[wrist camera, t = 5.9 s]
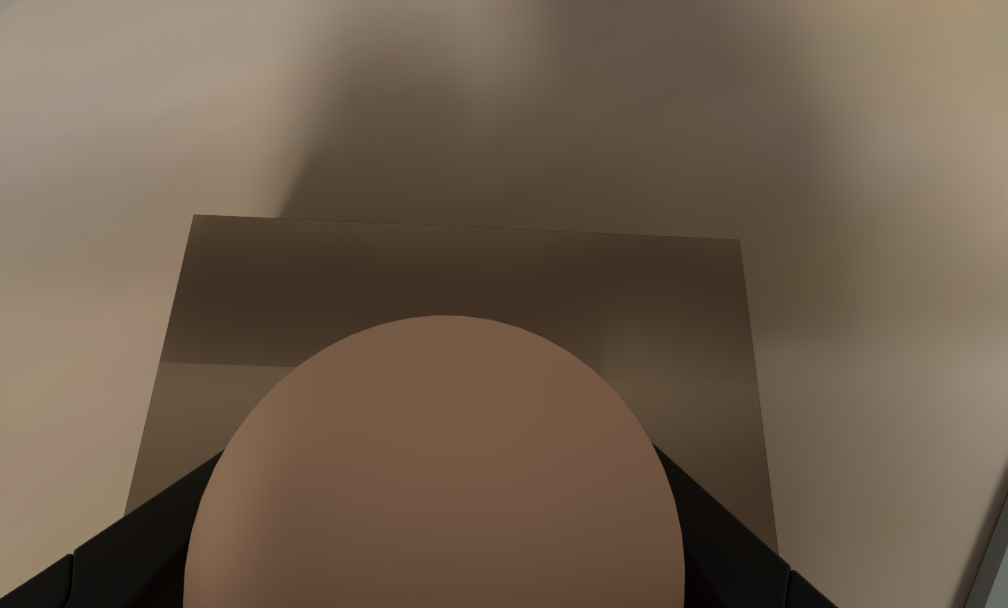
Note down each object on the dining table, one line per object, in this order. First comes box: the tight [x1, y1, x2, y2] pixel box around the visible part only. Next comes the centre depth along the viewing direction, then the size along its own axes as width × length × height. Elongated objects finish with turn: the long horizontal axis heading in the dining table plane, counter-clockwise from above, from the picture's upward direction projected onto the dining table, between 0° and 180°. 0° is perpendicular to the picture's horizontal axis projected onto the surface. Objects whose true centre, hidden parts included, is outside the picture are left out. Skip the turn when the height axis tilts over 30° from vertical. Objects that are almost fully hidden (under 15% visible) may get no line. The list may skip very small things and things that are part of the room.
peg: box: [183, 315, 685, 608], centre depth 10 cm, size 5×5×10 cm
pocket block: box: [124, 214, 779, 555], centre depth 14 cm, size 14×14×4 cm
